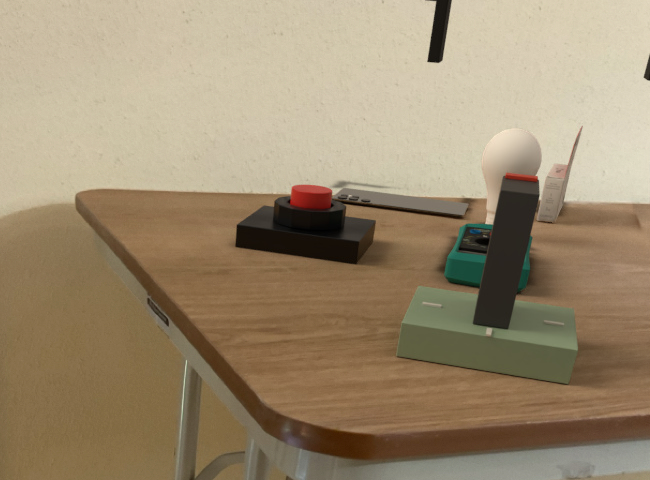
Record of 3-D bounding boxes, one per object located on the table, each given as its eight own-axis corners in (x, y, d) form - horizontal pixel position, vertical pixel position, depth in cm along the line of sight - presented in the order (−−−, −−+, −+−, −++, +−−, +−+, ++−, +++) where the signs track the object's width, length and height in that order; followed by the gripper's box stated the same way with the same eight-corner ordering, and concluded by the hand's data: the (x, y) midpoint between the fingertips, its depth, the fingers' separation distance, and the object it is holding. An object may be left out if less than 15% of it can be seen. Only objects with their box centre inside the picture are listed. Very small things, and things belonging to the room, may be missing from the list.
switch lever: (508, 329, 62) (540, 190, 57) (472, 323, 62) (501, 185, 58) (510, 305, 67) (540, 176, 62) (476, 300, 67) (503, 171, 62)
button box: (373, 242, 92) (378, 201, 90) (356, 265, 83) (362, 221, 81) (262, 226, 94) (265, 187, 92) (235, 247, 86) (237, 204, 84)
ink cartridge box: (535, 221, 106) (555, 132, 101) (543, 205, 115) (563, 123, 110) (556, 224, 105) (578, 135, 100) (563, 208, 114) (583, 125, 109)
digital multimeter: (527, 257, 91) (534, 228, 89) (524, 296, 78) (532, 262, 77) (456, 248, 92) (461, 218, 91) (441, 284, 80) (447, 251, 78)
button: (334, 206, 88) (336, 187, 87) (325, 214, 85) (328, 194, 84) (295, 201, 89) (296, 182, 88) (285, 208, 86) (287, 189, 85)
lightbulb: (489, 245, 94) (513, 132, 88) (455, 231, 99) (476, 123, 93) (534, 243, 96) (560, 133, 90) (499, 229, 101) (522, 124, 95)
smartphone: (463, 215, 104) (331, 195, 107) (462, 220, 104) (330, 200, 107) (468, 203, 110) (343, 185, 113) (468, 208, 110) (343, 189, 114)
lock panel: (565, 339, 69) (574, 305, 68) (568, 385, 61) (579, 348, 59) (413, 315, 71) (418, 283, 70) (395, 356, 63) (401, 320, 62)
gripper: (881, -372, 46) (737, 83, 57) (406, -366, 51) (359, 51, 62) (935, -430, 40) (761, 92, 51) (388, -416, 45) (340, 57, 56)
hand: (540, 71), depth 57 cm, fingers open, 13 cm apart
